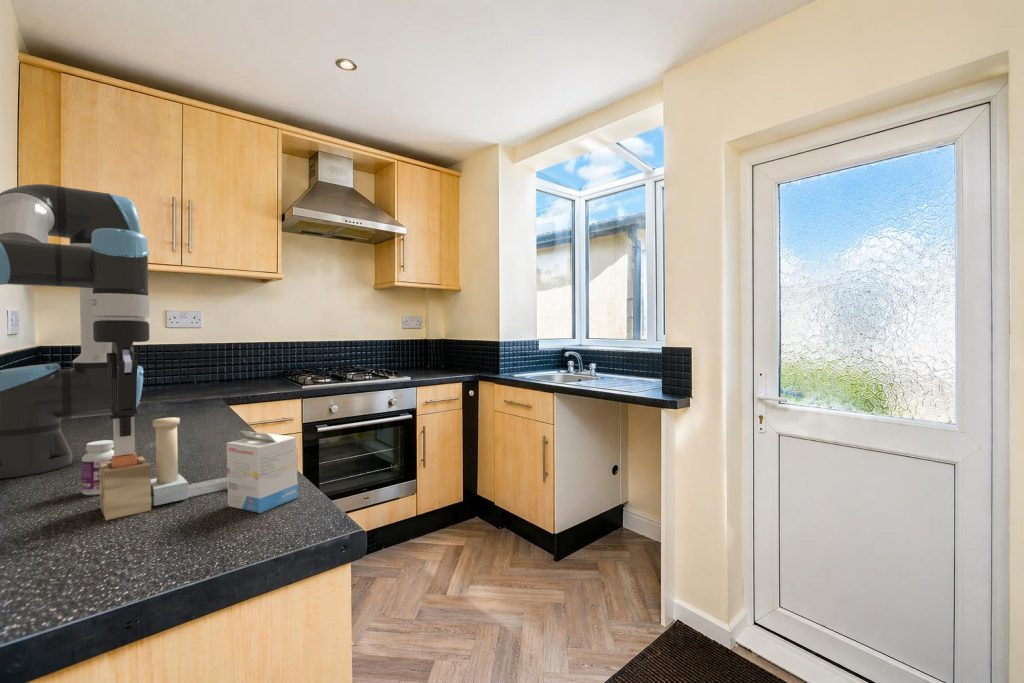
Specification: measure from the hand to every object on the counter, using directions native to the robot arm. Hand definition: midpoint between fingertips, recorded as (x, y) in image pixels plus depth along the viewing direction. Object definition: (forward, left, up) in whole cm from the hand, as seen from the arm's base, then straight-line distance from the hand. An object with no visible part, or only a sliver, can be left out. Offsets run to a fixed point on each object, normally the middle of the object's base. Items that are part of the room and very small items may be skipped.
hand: (124, 453), depth 81 cm
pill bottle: (-15, -2, -10) cm, 18 cm away
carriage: (0, +6, -10) cm, 12 cm away
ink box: (+14, +18, -10) cm, 25 cm away
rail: (0, +10, -10) cm, 14 cm away
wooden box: (0, 0, -10) cm, 10 cm away
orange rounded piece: (0, 0, -4) cm, 4 cm away
